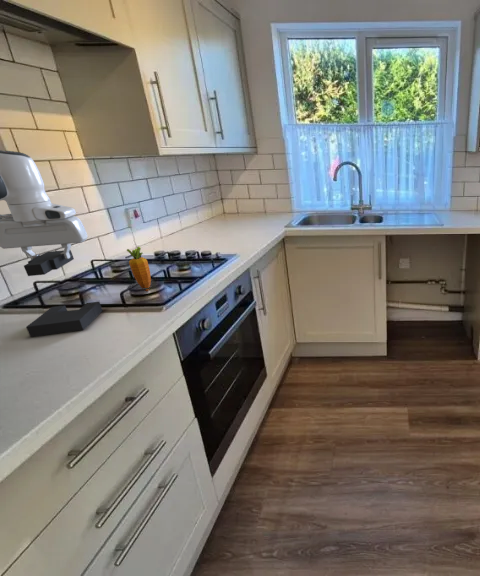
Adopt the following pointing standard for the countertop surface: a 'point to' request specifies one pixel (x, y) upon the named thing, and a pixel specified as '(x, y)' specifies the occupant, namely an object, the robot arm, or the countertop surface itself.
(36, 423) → the countertop surface
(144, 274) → the carrot
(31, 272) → the pad
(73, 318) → the notch pad
